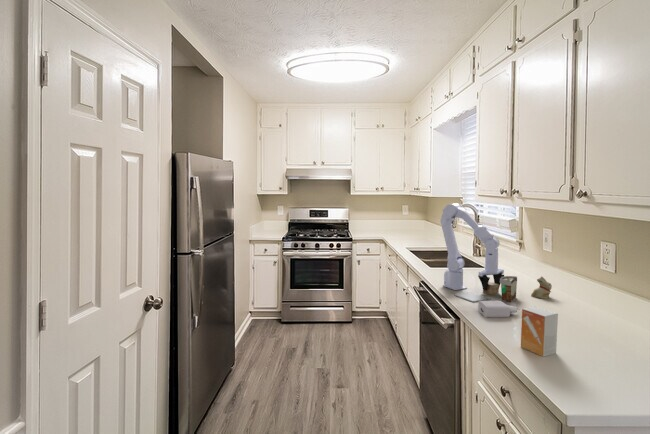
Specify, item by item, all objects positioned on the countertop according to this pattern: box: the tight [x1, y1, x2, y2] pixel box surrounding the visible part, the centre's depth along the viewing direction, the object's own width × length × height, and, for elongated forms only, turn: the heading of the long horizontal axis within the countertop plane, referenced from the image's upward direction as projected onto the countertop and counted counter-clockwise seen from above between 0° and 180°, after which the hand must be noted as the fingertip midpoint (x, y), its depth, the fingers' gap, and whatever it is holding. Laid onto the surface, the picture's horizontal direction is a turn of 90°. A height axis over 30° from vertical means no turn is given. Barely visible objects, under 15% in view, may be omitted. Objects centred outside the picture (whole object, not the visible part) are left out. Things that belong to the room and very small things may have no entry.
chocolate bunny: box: [530, 275, 553, 299], centre depth 178 cm, size 6×8×10 cm
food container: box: [500, 275, 518, 303], centre depth 175 cm, size 12×6×10 cm, turn 141°
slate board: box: [454, 291, 492, 303], centre depth 178 cm, size 12×11×1 cm
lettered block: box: [482, 281, 500, 296], centre depth 185 cm, size 5×5×5 cm
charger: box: [477, 300, 521, 318], centre depth 154 cm, size 5×9×15 cm
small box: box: [520, 305, 559, 358], centre depth 119 cm, size 8×6×13 cm
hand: (490, 289), depth 185 cm, fingers open, 7 cm apart
